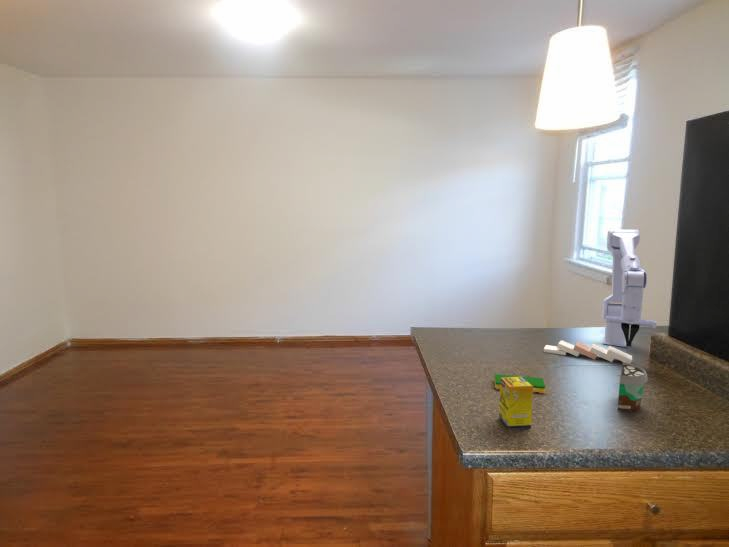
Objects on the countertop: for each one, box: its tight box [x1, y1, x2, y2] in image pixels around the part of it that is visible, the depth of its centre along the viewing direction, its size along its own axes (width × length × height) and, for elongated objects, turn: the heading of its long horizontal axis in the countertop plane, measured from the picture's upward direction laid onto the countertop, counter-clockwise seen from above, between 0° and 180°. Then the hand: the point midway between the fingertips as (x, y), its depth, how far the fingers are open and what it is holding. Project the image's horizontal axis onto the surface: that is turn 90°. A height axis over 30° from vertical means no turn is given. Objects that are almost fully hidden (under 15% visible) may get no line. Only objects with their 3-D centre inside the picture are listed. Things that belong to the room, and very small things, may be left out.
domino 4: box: [590, 343, 615, 363], centre depth 157 cm, size 2×5×8 cm
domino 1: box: [543, 344, 568, 356], centre depth 165 cm, size 2×5×8 cm
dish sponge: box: [494, 373, 546, 394], centre depth 134 cm, size 7×14×2 cm, turn 75°
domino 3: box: [573, 341, 597, 360], centre depth 160 cm, size 2×5×8 cm
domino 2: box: [557, 339, 581, 358], centre depth 163 cm, size 2×5×8 cm
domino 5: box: [606, 345, 633, 364], centre depth 154 cm, size 2×5×8 cm
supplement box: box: [498, 377, 534, 430], centre depth 111 cm, size 6×6×11 cm
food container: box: [617, 361, 649, 412], centre depth 120 cm, size 12×6×10 cm, turn 148°
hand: (628, 345), depth 153 cm, fingers closed
